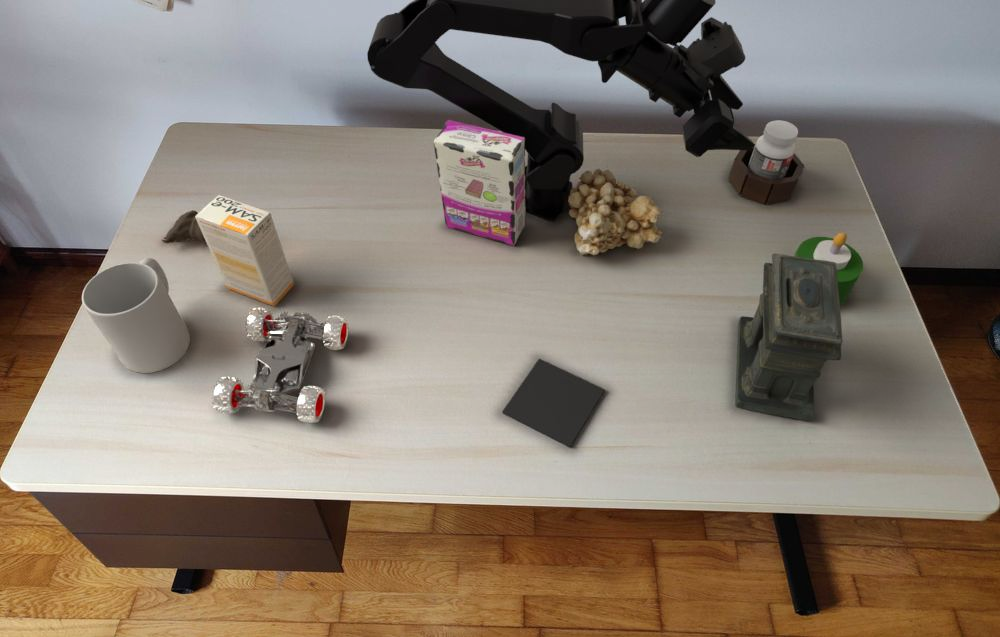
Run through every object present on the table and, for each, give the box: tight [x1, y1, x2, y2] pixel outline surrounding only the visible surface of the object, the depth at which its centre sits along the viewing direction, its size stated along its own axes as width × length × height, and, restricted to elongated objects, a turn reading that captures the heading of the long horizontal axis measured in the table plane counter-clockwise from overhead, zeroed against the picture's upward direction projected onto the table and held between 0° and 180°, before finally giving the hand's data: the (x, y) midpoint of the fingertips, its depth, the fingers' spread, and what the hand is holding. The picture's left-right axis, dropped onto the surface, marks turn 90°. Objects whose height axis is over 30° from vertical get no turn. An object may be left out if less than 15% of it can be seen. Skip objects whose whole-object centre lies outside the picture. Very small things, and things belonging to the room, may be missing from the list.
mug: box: [81, 257, 191, 374], centre depth 85 cm, size 12×8×11 cm
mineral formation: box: [568, 168, 662, 256], centre depth 100 cm, size 8×13×15 cm
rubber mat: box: [502, 358, 605, 449], centre depth 83 cm, size 9×9×1 cm
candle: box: [794, 232, 864, 307], centre depth 92 cm, size 8×8×10 cm
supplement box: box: [195, 194, 295, 307], centre depth 90 cm, size 8×5×13 cm, turn 65°
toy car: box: [211, 307, 350, 424], centre depth 84 cm, size 15×12×5 cm
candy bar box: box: [433, 119, 527, 246], centre depth 96 cm, size 11×5×16 cm, turn 68°
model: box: [734, 253, 844, 422], centre depth 81 cm, size 14×9×15 cm, turn 168°
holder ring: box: [727, 143, 805, 206], centre depth 108 cm, size 10×10×4 cm
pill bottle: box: [748, 119, 799, 180], centre depth 106 cm, size 6×6×10 cm
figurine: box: [161, 209, 207, 244], centre depth 99 cm, size 6×4×12 cm
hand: (745, 126), depth 94 cm, fingers open, 9 cm apart
